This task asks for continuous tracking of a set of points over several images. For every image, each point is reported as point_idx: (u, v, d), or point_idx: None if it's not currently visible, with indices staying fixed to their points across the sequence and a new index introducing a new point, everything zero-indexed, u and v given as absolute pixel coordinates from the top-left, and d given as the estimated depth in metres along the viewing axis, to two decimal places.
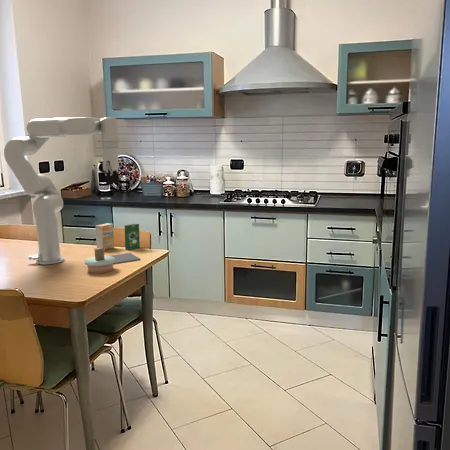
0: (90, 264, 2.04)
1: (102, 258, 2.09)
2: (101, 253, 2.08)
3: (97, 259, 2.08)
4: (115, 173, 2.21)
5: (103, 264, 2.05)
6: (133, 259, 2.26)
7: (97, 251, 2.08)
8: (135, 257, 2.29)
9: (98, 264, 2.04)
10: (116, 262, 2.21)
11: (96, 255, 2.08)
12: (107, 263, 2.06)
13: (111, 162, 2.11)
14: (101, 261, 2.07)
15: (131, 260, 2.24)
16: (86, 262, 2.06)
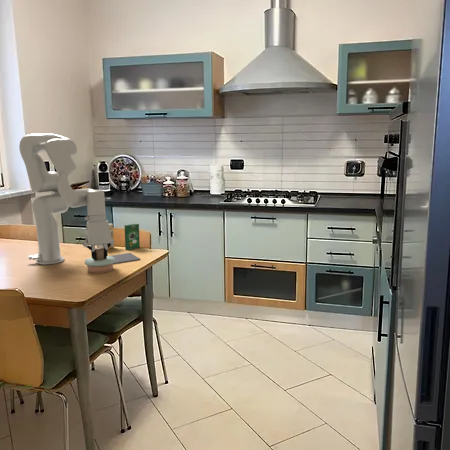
0: (90, 264, 2.04)
1: (102, 258, 2.09)
2: (101, 253, 2.08)
3: (97, 259, 2.08)
4: None
5: (103, 264, 2.05)
6: (133, 259, 2.26)
7: (97, 251, 2.08)
8: (135, 257, 2.29)
9: (98, 264, 2.04)
10: (116, 262, 2.21)
11: (96, 255, 2.08)
12: (107, 263, 2.06)
13: None
14: (101, 261, 2.07)
15: (131, 260, 2.24)
16: (86, 262, 2.06)
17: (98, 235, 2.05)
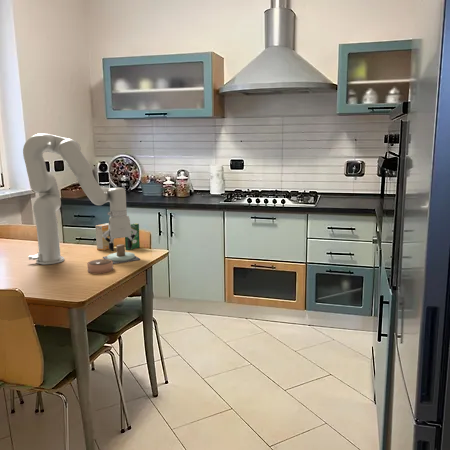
0: (113, 259, 2.23)
1: (123, 254, 2.27)
2: (122, 249, 2.27)
3: (119, 255, 2.27)
4: None
5: (124, 259, 2.23)
6: (133, 259, 2.26)
7: (119, 247, 2.26)
8: (135, 257, 2.29)
9: (120, 259, 2.23)
10: (116, 262, 2.21)
11: (118, 251, 2.27)
12: (128, 258, 2.24)
13: None
14: (122, 257, 2.25)
15: (131, 260, 2.24)
16: (109, 258, 2.24)
17: (120, 229, 2.24)
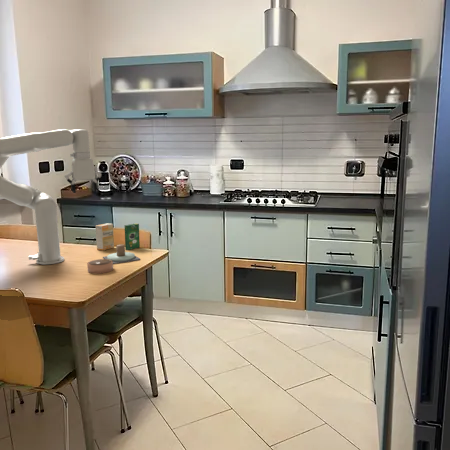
0: (113, 259, 2.23)
1: (123, 254, 2.27)
2: (122, 249, 2.27)
3: (119, 255, 2.27)
4: None
5: (124, 259, 2.23)
6: (133, 259, 2.26)
7: (119, 247, 2.26)
8: (135, 257, 2.29)
9: (120, 259, 2.23)
10: (116, 262, 2.21)
11: (118, 251, 2.27)
12: (128, 258, 2.24)
13: None
14: (122, 257, 2.25)
15: (131, 260, 2.24)
16: (109, 258, 2.24)
17: (83, 171, 2.23)
